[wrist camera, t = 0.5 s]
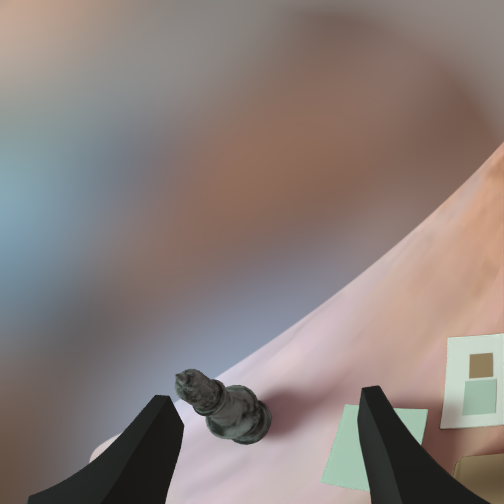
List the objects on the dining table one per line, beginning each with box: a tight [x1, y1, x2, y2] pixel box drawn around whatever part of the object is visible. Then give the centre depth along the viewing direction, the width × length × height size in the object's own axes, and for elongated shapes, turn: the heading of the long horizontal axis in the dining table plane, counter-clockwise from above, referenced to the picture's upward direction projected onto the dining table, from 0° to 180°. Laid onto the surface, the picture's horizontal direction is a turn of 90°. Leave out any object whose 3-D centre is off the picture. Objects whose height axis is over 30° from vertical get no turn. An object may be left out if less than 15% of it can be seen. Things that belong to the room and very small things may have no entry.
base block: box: [320, 404, 428, 491], centre depth 20 cm, size 7×7×4 cm
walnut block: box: [453, 453, 504, 504], centre depth 12 cm, size 5×5×5 cm
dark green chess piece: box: [175, 369, 271, 445], centre depth 26 cm, size 6×6×12 cm
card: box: [440, 333, 504, 429], centre depth 20 cm, size 9×7×1 cm
